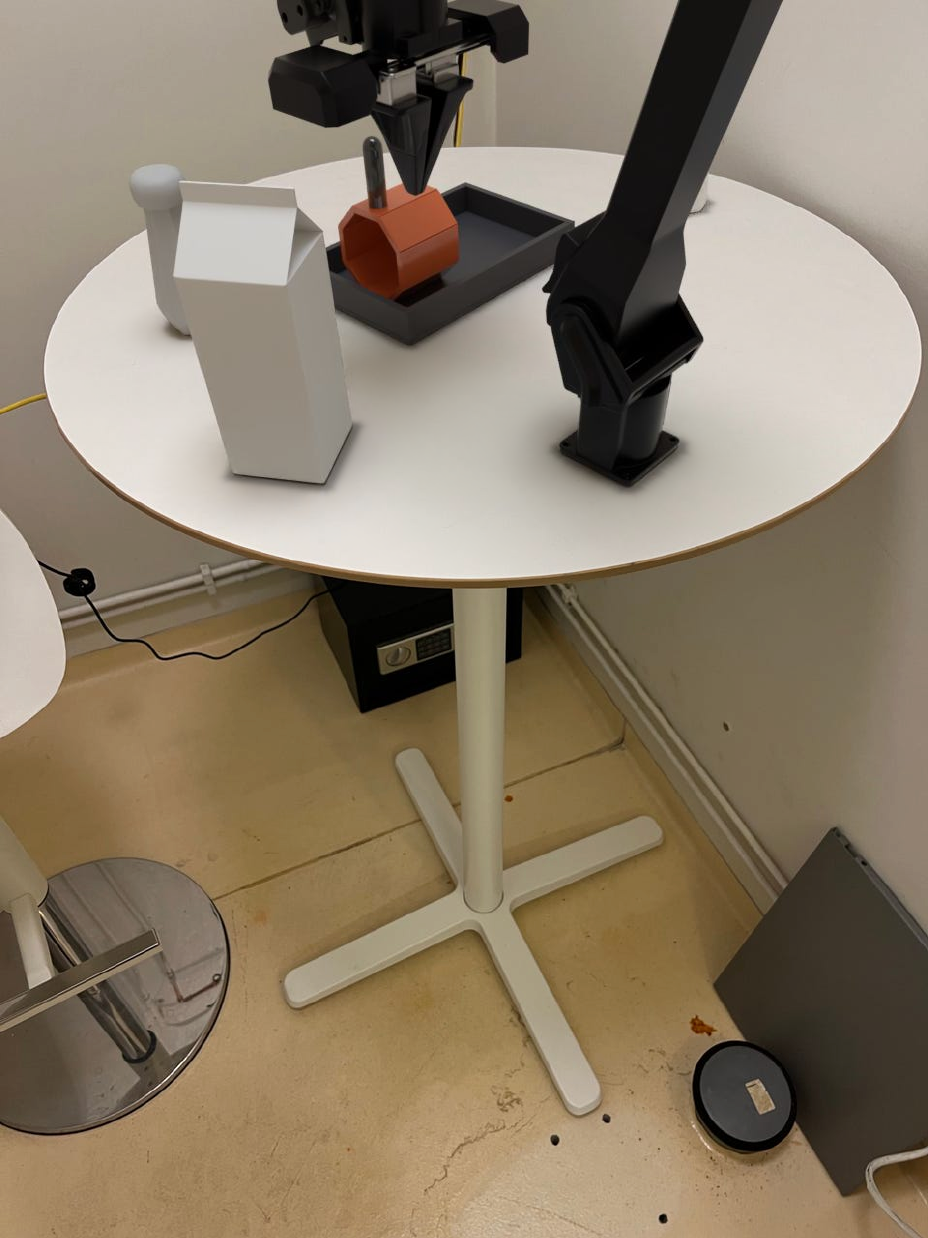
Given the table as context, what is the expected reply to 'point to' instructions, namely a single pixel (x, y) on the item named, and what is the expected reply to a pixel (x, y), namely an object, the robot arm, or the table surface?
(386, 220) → the pot
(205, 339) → the milk carton
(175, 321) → the salt shaker
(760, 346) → the table surface
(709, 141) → the robot arm
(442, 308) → the black tray
